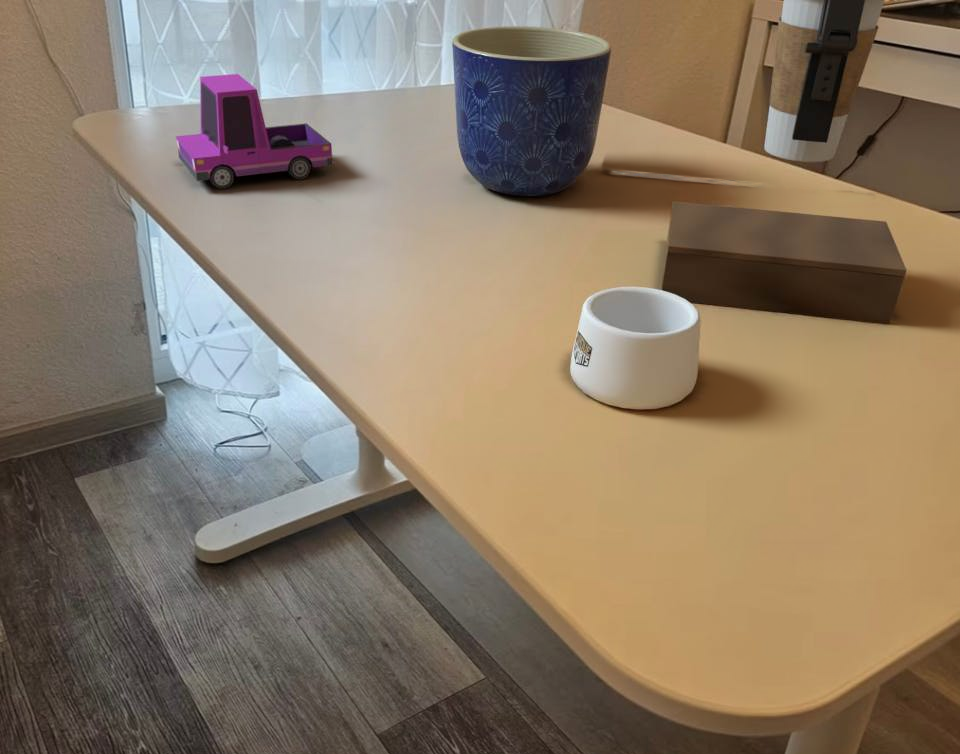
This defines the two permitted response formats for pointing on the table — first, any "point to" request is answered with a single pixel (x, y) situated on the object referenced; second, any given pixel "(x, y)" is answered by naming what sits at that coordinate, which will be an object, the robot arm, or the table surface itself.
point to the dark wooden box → (783, 262)
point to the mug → (636, 348)
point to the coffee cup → (791, 70)
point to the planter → (528, 105)
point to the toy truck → (246, 137)
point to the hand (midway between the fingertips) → (805, 126)
